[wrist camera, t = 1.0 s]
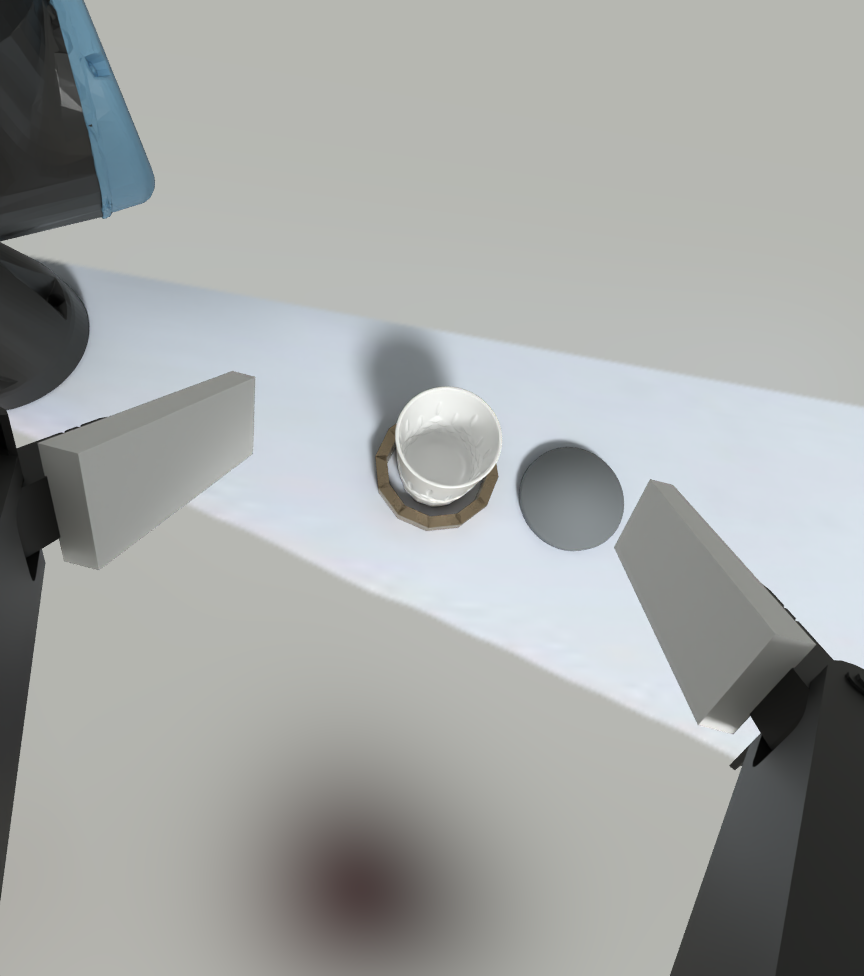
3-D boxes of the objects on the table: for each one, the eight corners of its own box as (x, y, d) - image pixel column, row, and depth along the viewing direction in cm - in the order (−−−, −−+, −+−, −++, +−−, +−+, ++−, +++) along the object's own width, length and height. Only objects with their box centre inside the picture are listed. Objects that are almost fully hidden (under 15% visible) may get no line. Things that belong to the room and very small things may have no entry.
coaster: (504, 525, 40) (507, 523, 39) (539, 434, 42) (542, 431, 41) (601, 567, 40) (606, 567, 39) (630, 474, 42) (635, 472, 41)
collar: (357, 500, 39) (355, 495, 37) (405, 401, 42) (406, 392, 40) (466, 548, 39) (470, 546, 37) (507, 446, 42) (513, 439, 40)
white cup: (382, 447, 41) (380, 402, 31) (458, 424, 42) (479, 374, 32) (410, 524, 39) (416, 502, 29) (487, 497, 40) (518, 468, 31)
